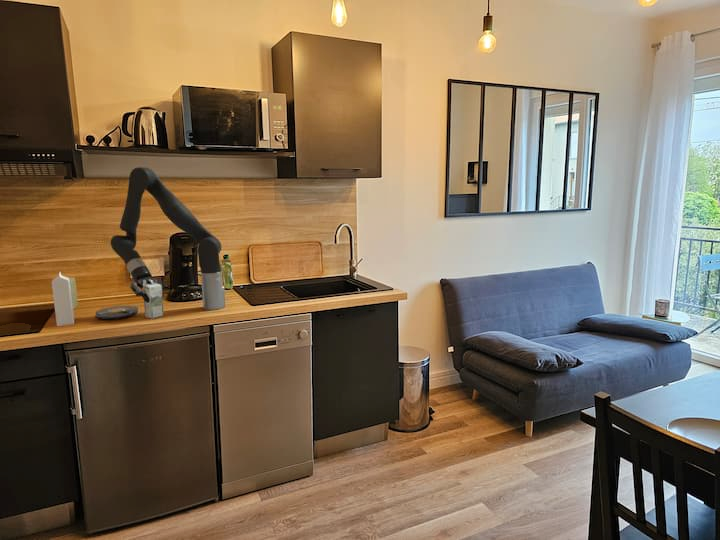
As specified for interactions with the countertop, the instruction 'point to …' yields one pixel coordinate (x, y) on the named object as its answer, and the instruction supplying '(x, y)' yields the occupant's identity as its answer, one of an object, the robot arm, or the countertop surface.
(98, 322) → the countertop surface
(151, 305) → the syrup box
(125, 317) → the turntable base
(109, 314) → the disc
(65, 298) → the milk
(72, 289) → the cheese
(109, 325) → the countertop surface
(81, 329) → the countertop surface
